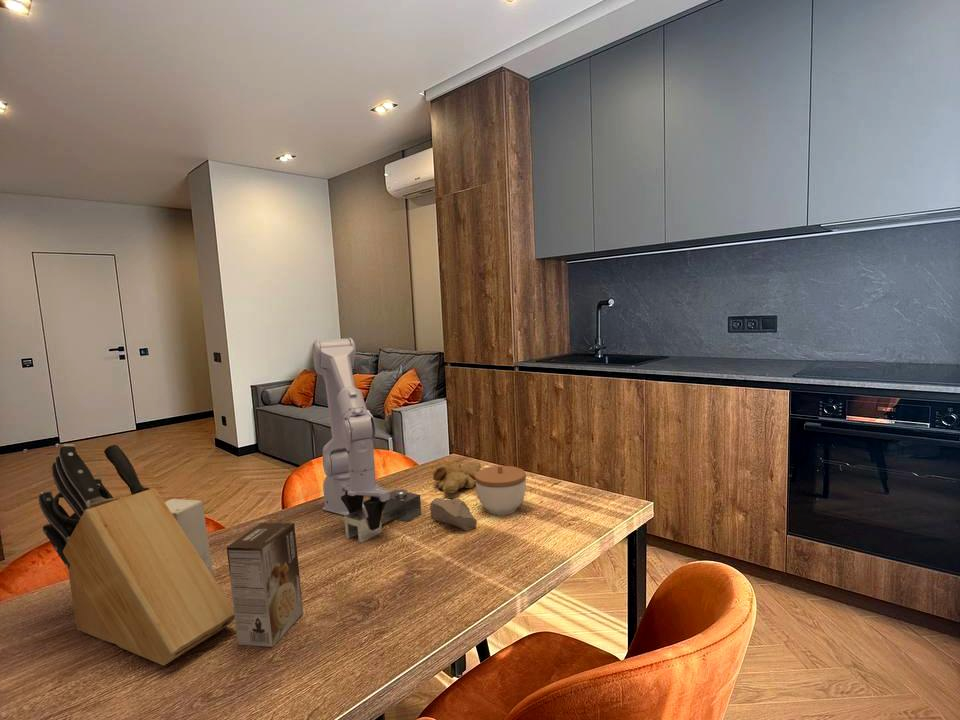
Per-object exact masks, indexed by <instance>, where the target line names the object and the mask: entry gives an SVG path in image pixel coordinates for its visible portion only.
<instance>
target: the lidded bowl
mask: <svg viewBox="0 0 960 720" xmlns="http://www.w3.org/2000/svg"><path fill="white" fill-rule="evenodd" d="M526 479H527V473H526V471H525V470H524V469H522V468H520V467H516V466H510V465H500V464H499V465H495V466H489V467H485V468H482V469H480V470H479V471H478V472H477V473H476V474H475V480H474V482H475V489H476V494H477V497H478V499H479V502H480V504H481V505H482V506H483V507H484V508H485V509H486V510H487V512H488V513H490V514H492V515H495V516H496V515H498V516H505V515H510V514H512V513H515V512H516V511H517V508H518V507H520V505H521V504H522V503H523V501H524V497H525V494H526V493H525V492H526V487H527V485H526V484H527V481H526ZM514 511H515V512H514Z"/></svg>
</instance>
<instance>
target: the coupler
mask: <svg viewBox="0 0 960 720" xmlns="http://www.w3.org/2000/svg"><path fill="white" fill-rule="evenodd" d="M389 494H390V499H389V500H387V502H386V504H385V506H384V509H383V512H382V516H381V525H383V524H384V523H386V522H387V521H389V520H392V519H395V520H398V521H403V522H407V523H408V522H410V521H412V520H414V519H416V518H418V517H419V516H421V515H422V505H421V504H422V503H421V494H417V493H413V492H409V491H408V490H407V489H403V488H402V489H401V488H400V489H394V490H393V491H391V492H390V491H389Z"/></svg>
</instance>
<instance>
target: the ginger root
mask: <svg viewBox="0 0 960 720" xmlns="http://www.w3.org/2000/svg"><path fill="white" fill-rule="evenodd" d="M461 465H462V463H460V462H459V463H458V462H450V463H446V464H442V465H439V466H437V467H436V468H435V470H434V471H433V472H432V476H433V477H432V480H434V481H436V482H438V486H437V488H438V489H440V490H442V492H444V493H447V494H454V493H457V491H458V490H459V489H462V488H465V489H471V488H473V487H474V486H475V474H476V473H477V472H478V471H479V470H481V467H482V465H481V463H480V462H471V463H467V464H464V465H462V466H461Z"/></svg>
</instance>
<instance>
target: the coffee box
mask: <svg viewBox="0 0 960 720" xmlns="http://www.w3.org/2000/svg"><path fill="white" fill-rule="evenodd" d="M226 554H227V563H228V570H229V571H228V572H229V579H230V588H231V589H230V590H231V597H232V606H233V608H234V615H235V618H234V621H235V631H236V632H235V633H236V640H237V644H238V645H240V646H253V647H266V648H267V647H269V648H272V647H275V645H277V643H278V642H279V641H280V640H281V639H282V638H283V636H285V634H286V633H287V632H288V630H289V629H291V628H292V626H293V625H294V624H295V623H296V622H297V621H298V620H299V618H300V617H301V615H303V614H304V608H303V598H302V597H303V596H302V589H301V588H302V586H301V577H300V568H299V567H300V566H299V558H298V549H297V537H296V528H295V523H294V522H260V523H258V524H257V525H256V526H254V527H253V528H252V529H251V530H249V531H247V532H246V533H245V534H243V535H242V536H240V537H239V538H238V539H236V540H235V541H233V542H232V543H230V544H229V545H227V546H226Z"/></svg>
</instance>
